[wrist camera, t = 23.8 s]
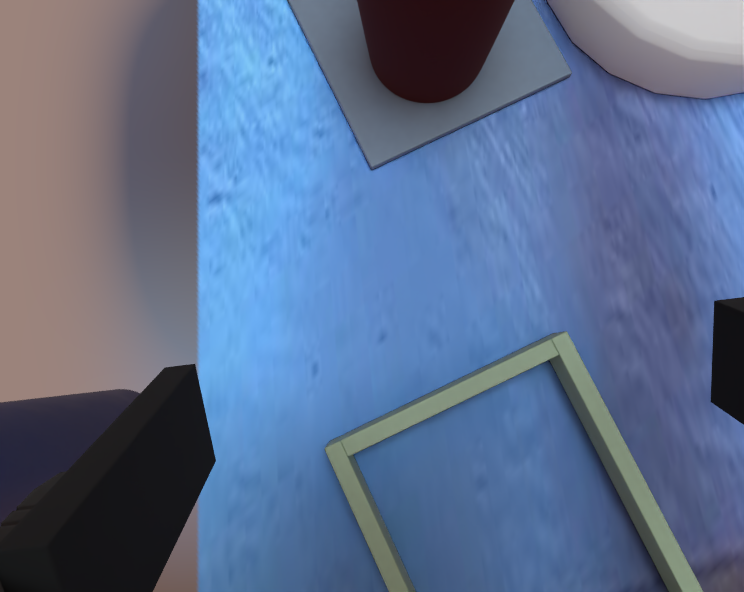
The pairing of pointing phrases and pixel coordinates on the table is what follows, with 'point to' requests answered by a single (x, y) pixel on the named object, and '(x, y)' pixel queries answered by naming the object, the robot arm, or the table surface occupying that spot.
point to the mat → (412, 119)
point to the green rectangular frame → (550, 348)
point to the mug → (430, 43)
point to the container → (662, 42)
